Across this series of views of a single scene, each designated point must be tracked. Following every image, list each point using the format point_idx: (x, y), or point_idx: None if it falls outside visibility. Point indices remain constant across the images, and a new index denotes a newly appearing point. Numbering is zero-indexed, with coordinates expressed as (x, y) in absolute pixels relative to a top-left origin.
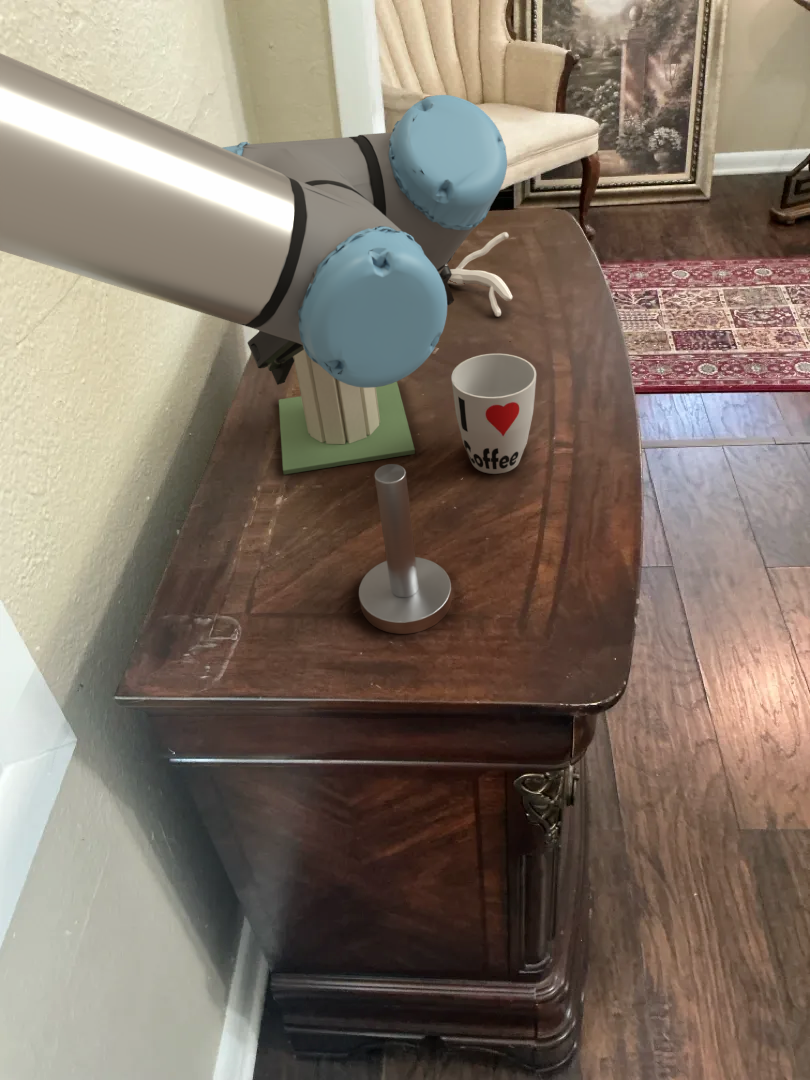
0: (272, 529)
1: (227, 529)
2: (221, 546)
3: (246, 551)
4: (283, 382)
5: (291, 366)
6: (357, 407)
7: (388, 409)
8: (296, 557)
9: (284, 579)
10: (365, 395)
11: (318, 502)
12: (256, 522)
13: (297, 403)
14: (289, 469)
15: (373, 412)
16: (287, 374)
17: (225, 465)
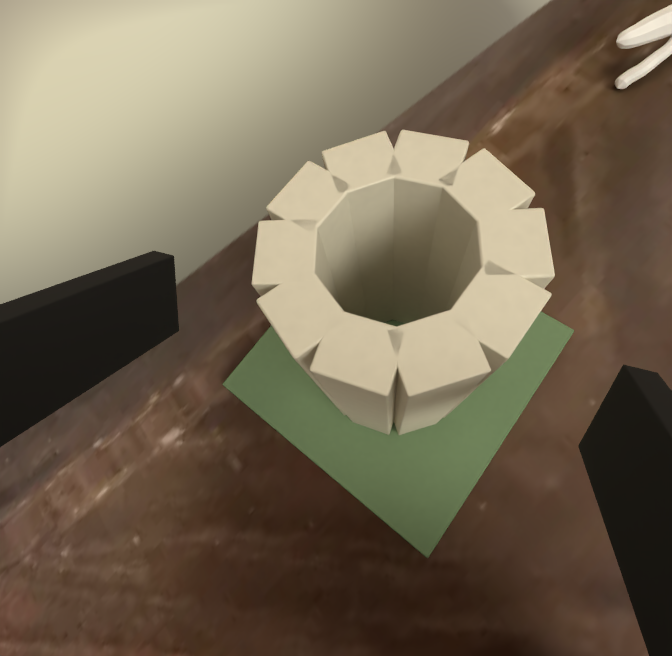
0: (108, 491)
1: (76, 426)
2: (41, 453)
3: (48, 499)
4: (175, 330)
5: (45, 416)
6: (376, 423)
7: (489, 395)
8: (70, 592)
9: (18, 621)
10: (405, 424)
11: (201, 502)
12: (110, 452)
13: None
14: (230, 391)
15: (424, 424)
16: (119, 367)
17: (194, 288)
